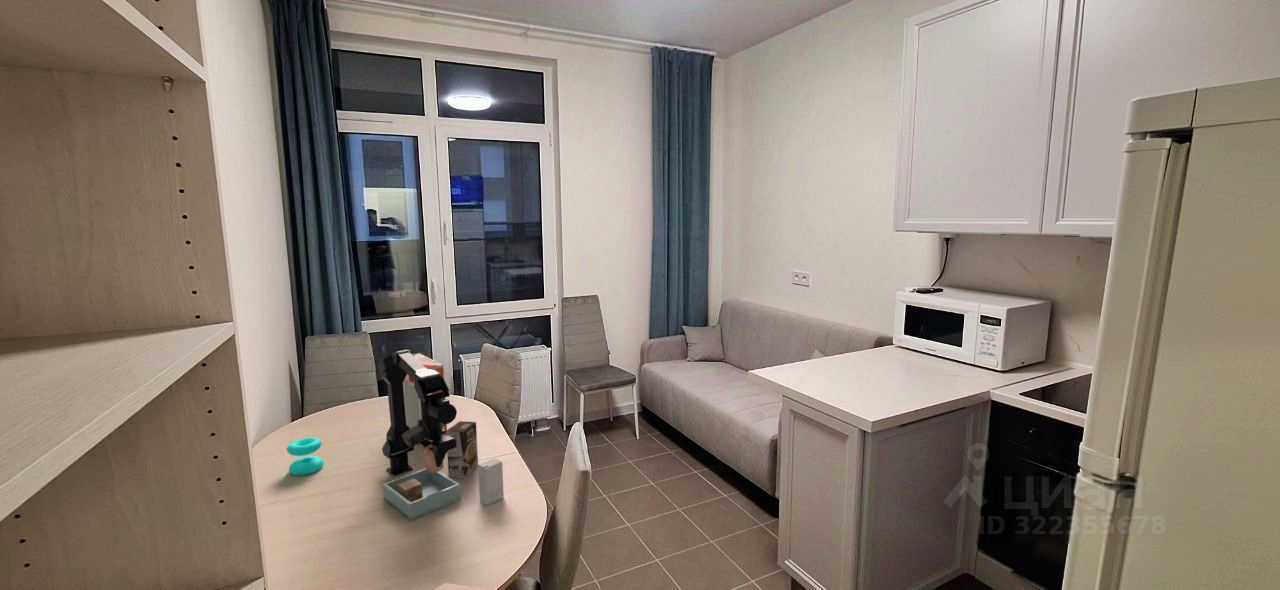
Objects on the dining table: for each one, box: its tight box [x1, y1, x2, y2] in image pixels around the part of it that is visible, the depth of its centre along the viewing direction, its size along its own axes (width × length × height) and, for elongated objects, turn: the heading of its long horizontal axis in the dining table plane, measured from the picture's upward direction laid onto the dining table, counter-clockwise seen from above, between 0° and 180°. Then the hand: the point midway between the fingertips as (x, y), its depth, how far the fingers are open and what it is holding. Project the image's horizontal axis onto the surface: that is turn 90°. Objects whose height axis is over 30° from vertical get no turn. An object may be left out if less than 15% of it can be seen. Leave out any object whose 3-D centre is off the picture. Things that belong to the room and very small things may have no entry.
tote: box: [382, 467, 462, 522], centre depth 165 cm, size 18×16×5 cm
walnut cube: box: [398, 479, 423, 502], centre depth 164 cm, size 5×5×5 cm
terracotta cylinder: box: [423, 444, 444, 473], centre depth 165 cm, size 5×5×7 cm
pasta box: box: [403, 352, 448, 437], centre depth 211 cm, size 23×8×30 cm, turn 43°
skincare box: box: [477, 457, 505, 506], centre depth 164 cm, size 6×4×12 cm
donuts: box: [286, 436, 324, 476], centre depth 184 cm, size 10×10×10 cm
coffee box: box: [446, 421, 479, 479], centre depth 182 cm, size 9×6×16 cm
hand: (434, 463), depth 165 cm, fingers closed on terracotta cylinder, 5 cm apart
